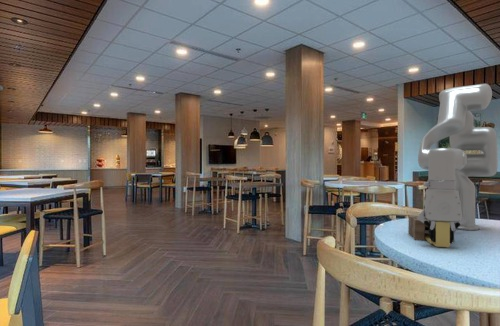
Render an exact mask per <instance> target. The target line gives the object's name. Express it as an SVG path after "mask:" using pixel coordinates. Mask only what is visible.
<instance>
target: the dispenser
mask: <svg viewBox="0 0 500 326" xmlns="http://www.w3.org/2000/svg"><path fill="white" fill-rule="evenodd" d="M418 216H419V215H408V235H409V236H410V237H411V238H413V239H414V240H415V241H426V239H425V233H429V228H428V227H427V226H426V225H425V224H424V223H423V222H421V221H420V220H418V219H417V218H418ZM424 219H425V220H426V221H428V222H429V220H428V219H427V218H425V217H424ZM454 241H455V239H454V240H452V243H454Z"/></svg>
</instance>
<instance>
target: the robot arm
mask: <svg viewBox="0 0 500 326" xmlns="http://www.w3.org/2000/svg"><path fill="white" fill-rule="evenodd" d="M492 96H493V91H492V88H491V86H490V85H489V84H488V83H479V84H473V85H463V86H457V87H450V88H446V89H444V90H441V91H440V92H439V94H438V99H439V103H440V104H439V110H438V116H437V117H438V118H437V123H436V125H434V126H433V127H431V128H430V129H429V130H428V131H427V132H426V133H425V134H424V136H423V138H422V139H421V142H420V143H419V144H420V145H419V149H418V157H417V161H418V166H419V167H420V168H421V169H423V170H426V171H428V174H427V175H428V178H427V181H423V183H422V184H423V187H426V188H427V189H425V193H424V197H423V206H422V211H421V212H420V214H419V215H417V216H418V218H417V219H418V220H420V221H421V222H423V223H424V224H425V225H426V226H427V227H428V228H429V238H430V239H431V241H433V242H436V230H435V228H434V227H435V222H436V221H445V222H450V244H453V242H452V240H454V241H455V238H454V237H455V231H456V230H463V231H464V230H465V231H478V230H481V227H480V225H477V224H476V186H475V184H474V182H473V181H472V180H471V179H470V178H469V177H493V176H495V175H496V174H497V172H498V168H499V167H498V165H499V163H498V135H497V131H496V130H495V129H494V128H493V127H489V126H480V127H478V126H477V127H475V126H474V125H475V124H474V115H473V113H472V112H473V111H481V110H486V108H488V106H489V105H490V103H491V101H492ZM448 137H449V146H450V147H447V148H446V147H439V148H431V147H433V145H434V144H436V143H437V142H439V141H441V140H444V139H446V138H448ZM465 151H467V152H468V151H481V152H482V153H471V152H470V153H465ZM424 217H425V218H427V219H428V220H429V222H428V221H426V220H425V219H424Z"/></svg>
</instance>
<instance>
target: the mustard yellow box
mask: <svg viewBox="0 0 500 326" xmlns="http://www.w3.org/2000/svg"><path fill="white" fill-rule="evenodd" d="M434 228H435V230H436V242H433V241H431V239H430V238H429V233H425V241H427V242H428V243H429V244H431V245H433V246H435V247H440V248H450V247H451V246H450V245H451V243H450V222H445V221H436V222H435V227H434Z"/></svg>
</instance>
